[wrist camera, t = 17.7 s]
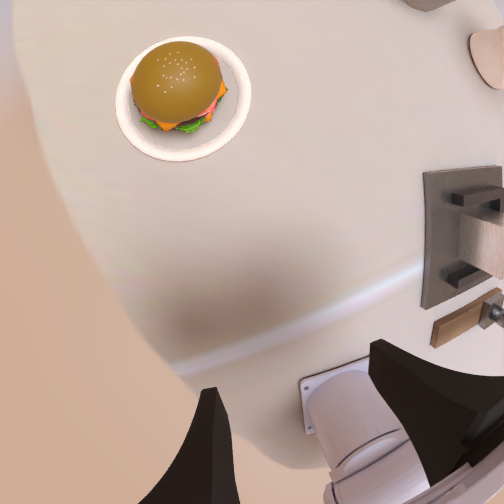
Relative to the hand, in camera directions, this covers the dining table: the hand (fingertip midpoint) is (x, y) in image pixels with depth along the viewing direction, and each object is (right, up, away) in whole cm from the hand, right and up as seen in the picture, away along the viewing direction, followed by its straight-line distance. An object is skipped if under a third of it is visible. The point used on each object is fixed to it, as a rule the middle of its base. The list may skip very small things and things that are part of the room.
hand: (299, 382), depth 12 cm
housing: (+20, +8, +10) cm, 24 cm away
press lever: (+28, -1, +14) cm, 31 cm away
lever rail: (+24, -2, +15) cm, 29 cm away
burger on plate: (-7, +16, +5) cm, 18 cm away
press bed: (+20, +8, +11) cm, 24 cm away
